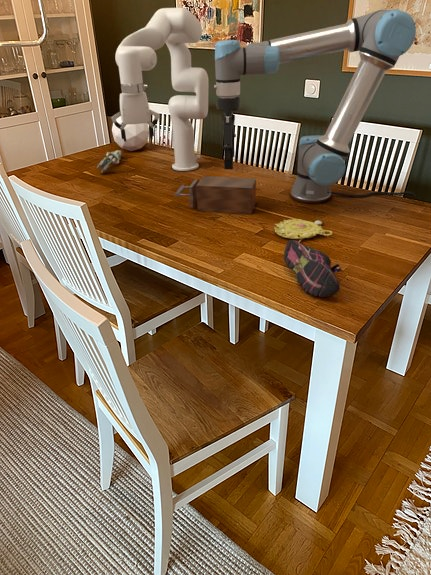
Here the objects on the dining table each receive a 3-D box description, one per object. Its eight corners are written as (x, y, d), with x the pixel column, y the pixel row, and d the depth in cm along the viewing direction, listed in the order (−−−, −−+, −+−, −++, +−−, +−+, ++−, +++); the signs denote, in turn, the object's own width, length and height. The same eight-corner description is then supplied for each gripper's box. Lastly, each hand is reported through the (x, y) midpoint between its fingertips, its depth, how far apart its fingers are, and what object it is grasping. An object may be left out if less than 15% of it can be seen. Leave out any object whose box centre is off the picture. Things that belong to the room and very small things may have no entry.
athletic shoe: (326, 286, 106) (365, 278, 110) (286, 224, 118) (323, 219, 122) (310, 314, 115) (347, 305, 119) (274, 254, 127) (309, 248, 131)
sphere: (125, 161, 242) (105, 129, 240) (156, 144, 244) (137, 111, 242) (123, 152, 223) (102, 117, 221) (157, 133, 225) (136, 98, 223)
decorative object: (286, 211, 157) (342, 219, 147) (286, 217, 158) (341, 226, 148) (260, 233, 142) (319, 243, 133) (260, 240, 144) (319, 251, 134)
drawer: (175, 206, 166) (173, 186, 162) (182, 197, 174) (180, 178, 169) (240, 210, 161) (240, 189, 157) (244, 200, 169) (244, 181, 164)
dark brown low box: (197, 210, 164) (196, 185, 159) (204, 200, 173) (203, 175, 168) (251, 214, 160) (251, 188, 155) (255, 203, 169) (256, 178, 164)
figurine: (101, 154, 197) (119, 141, 223) (91, 167, 200) (110, 152, 227) (114, 165, 199) (130, 151, 225) (103, 178, 203) (121, 162, 229)
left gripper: (155, 86, 158) (160, 135, 167) (106, 89, 154) (113, 139, 163) (158, 89, 152) (163, 140, 161) (107, 92, 148) (115, 144, 157)
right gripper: (219, 90, 151) (221, 152, 162) (213, 104, 130) (216, 174, 141) (241, 89, 150) (241, 152, 162) (238, 103, 129) (239, 174, 141)
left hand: (138, 139), depth 162 cm, fingers open, 9 cm apart
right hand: (229, 162), depth 151 cm, fingers open, 13 cm apart
